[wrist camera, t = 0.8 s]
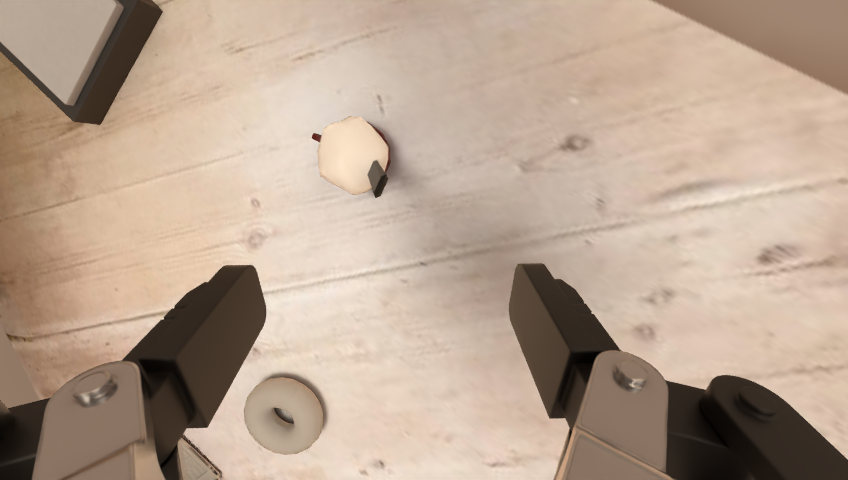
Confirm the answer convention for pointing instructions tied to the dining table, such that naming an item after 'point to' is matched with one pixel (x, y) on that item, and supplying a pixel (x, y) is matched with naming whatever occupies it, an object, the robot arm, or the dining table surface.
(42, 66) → the scale
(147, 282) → the dining table surface
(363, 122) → the cocoa
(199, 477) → the laptop
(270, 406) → the donut
